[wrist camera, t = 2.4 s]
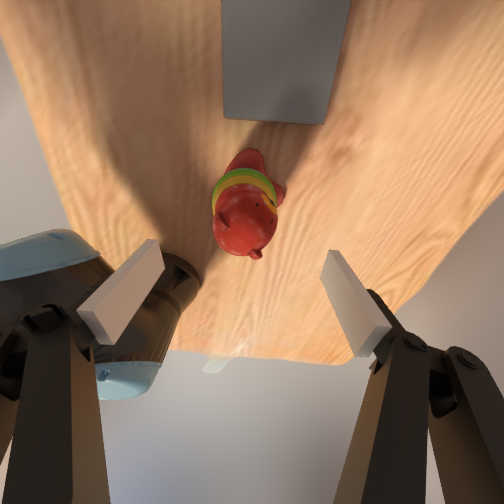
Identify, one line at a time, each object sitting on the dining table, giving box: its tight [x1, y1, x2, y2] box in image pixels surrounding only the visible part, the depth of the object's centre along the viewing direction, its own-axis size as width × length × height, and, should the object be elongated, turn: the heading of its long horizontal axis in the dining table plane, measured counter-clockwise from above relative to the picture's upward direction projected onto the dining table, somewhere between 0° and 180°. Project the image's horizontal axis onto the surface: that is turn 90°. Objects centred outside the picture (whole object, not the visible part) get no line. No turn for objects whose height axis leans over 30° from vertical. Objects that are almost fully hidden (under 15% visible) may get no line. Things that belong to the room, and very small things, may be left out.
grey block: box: [221, 0, 351, 125], centre depth 22 cm, size 13×14×4 cm
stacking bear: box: [212, 148, 284, 260], centre depth 25 cm, size 11×10×18 cm
